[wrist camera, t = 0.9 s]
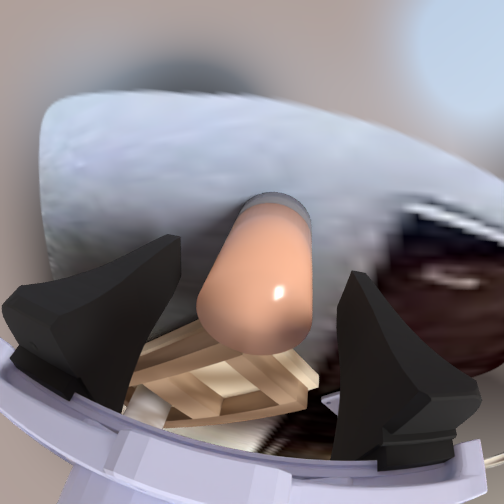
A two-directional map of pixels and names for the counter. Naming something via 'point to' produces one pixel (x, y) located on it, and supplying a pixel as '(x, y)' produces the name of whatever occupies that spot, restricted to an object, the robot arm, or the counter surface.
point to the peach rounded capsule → (262, 279)
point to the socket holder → (213, 382)
